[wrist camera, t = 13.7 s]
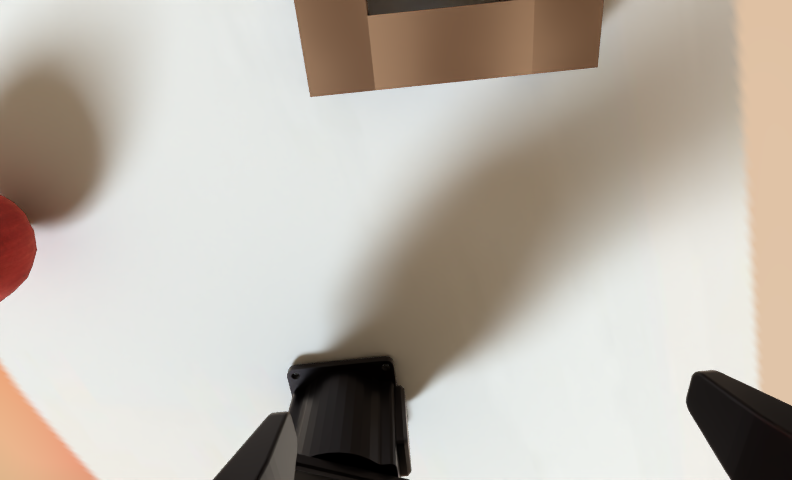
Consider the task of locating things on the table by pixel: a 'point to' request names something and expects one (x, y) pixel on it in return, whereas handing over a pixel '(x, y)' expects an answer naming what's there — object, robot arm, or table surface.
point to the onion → (14, 247)
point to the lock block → (443, 42)
